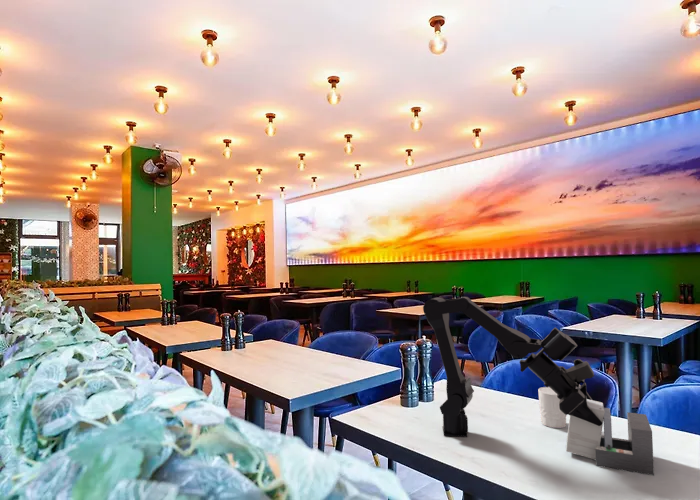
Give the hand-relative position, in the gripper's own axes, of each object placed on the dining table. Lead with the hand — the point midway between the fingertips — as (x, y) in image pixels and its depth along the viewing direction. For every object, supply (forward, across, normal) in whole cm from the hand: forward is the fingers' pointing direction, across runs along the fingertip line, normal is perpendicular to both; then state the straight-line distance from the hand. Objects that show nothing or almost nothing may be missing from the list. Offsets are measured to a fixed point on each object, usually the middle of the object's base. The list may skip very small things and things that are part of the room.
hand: (600, 418), depth 111 cm
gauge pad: (+7, -1, +5) cm, 9 cm away
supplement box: (+3, 0, +10) cm, 10 cm away
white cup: (-2, +18, +15) cm, 24 cm away
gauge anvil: (+9, 0, +4) cm, 10 cm away
